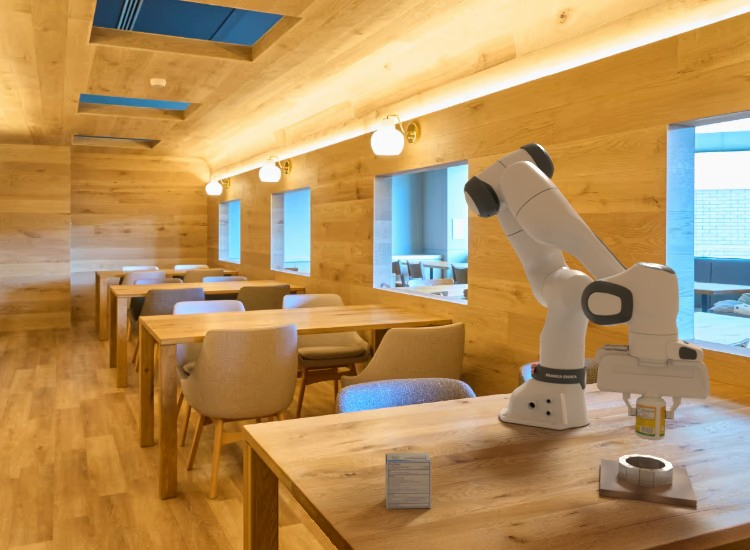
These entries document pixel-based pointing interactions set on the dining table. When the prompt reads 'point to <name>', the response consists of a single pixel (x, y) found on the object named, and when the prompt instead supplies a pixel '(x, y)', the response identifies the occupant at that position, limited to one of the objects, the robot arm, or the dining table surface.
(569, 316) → the robot arm
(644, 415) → the supplement bottle
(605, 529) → the dining table surface
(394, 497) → the medicine box
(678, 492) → the holder board
